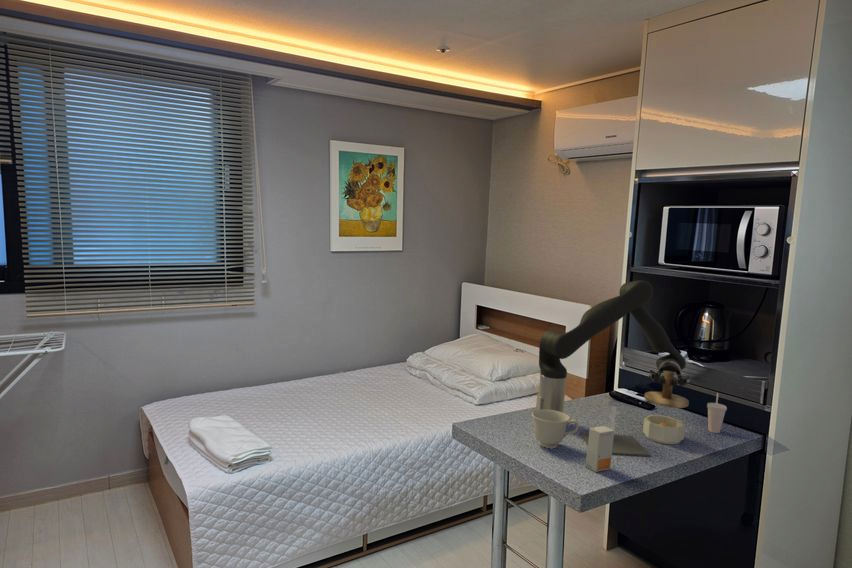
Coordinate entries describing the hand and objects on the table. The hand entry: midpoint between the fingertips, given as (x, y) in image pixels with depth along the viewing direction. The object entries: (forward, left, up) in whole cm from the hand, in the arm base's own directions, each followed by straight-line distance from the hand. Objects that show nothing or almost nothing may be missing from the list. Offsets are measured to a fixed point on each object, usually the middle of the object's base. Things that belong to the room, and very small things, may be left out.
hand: (668, 383), depth 187 cm
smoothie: (+24, +13, -20) cm, 34 cm away
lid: (+1, +3, -7) cm, 8 cm away
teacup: (-40, -10, -20) cm, 46 cm away
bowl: (+1, +3, -20) cm, 20 cm away
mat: (-19, -6, -20) cm, 28 cm away
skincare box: (-30, -25, -20) cm, 44 cm away
